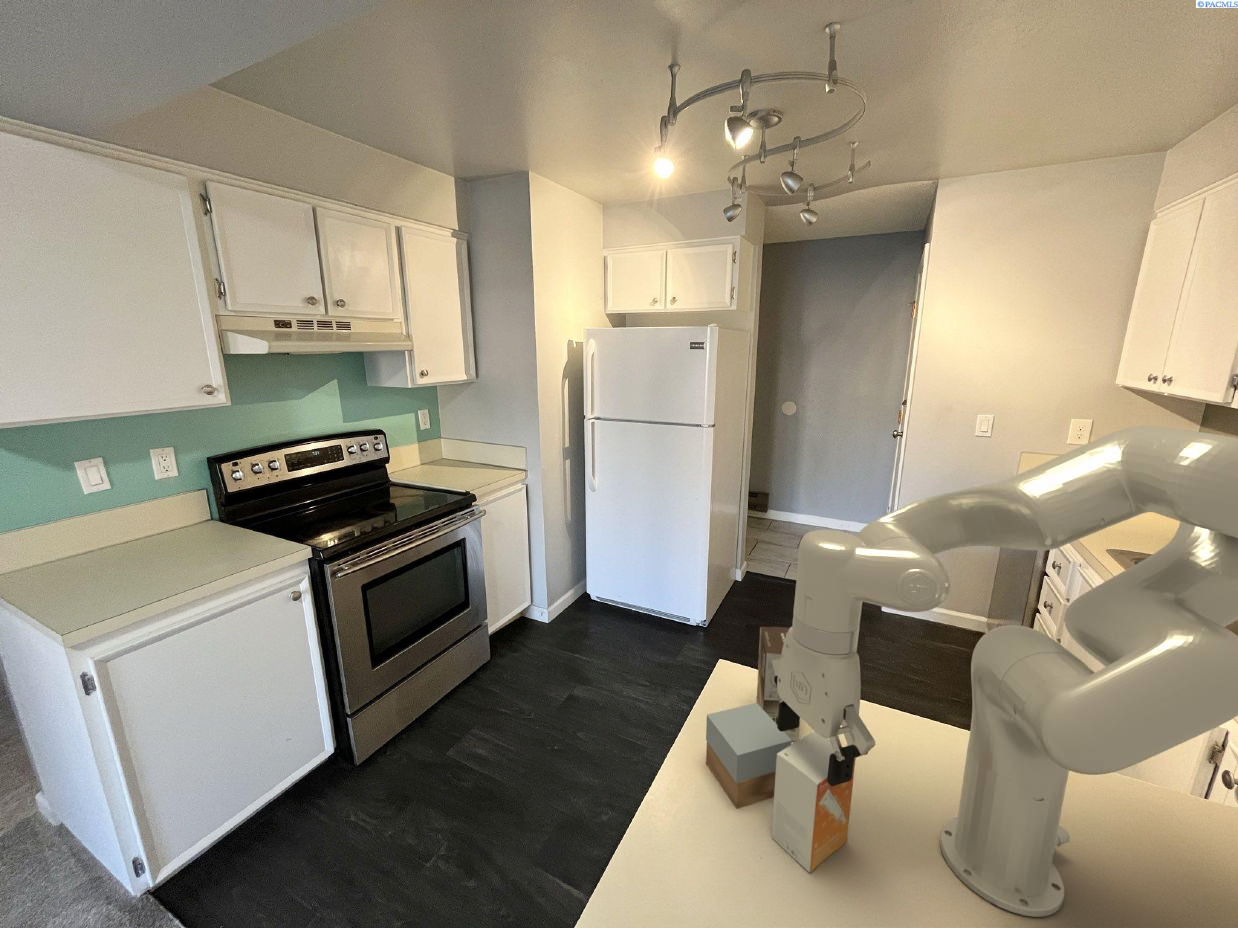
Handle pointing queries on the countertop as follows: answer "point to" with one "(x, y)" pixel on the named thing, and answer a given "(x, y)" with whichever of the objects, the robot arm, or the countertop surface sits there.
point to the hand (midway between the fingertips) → (811, 753)
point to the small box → (809, 802)
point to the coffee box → (771, 673)
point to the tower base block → (740, 783)
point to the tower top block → (745, 741)
